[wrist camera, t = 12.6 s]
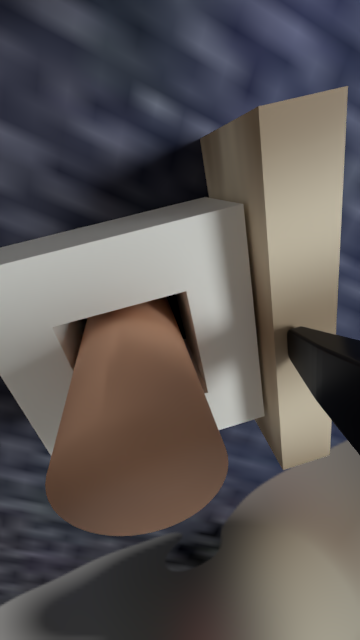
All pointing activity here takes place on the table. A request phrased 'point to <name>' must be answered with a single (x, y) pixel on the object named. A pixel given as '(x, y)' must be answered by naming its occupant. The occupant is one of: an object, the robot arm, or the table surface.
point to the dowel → (134, 428)
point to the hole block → (132, 303)
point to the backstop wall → (287, 245)
